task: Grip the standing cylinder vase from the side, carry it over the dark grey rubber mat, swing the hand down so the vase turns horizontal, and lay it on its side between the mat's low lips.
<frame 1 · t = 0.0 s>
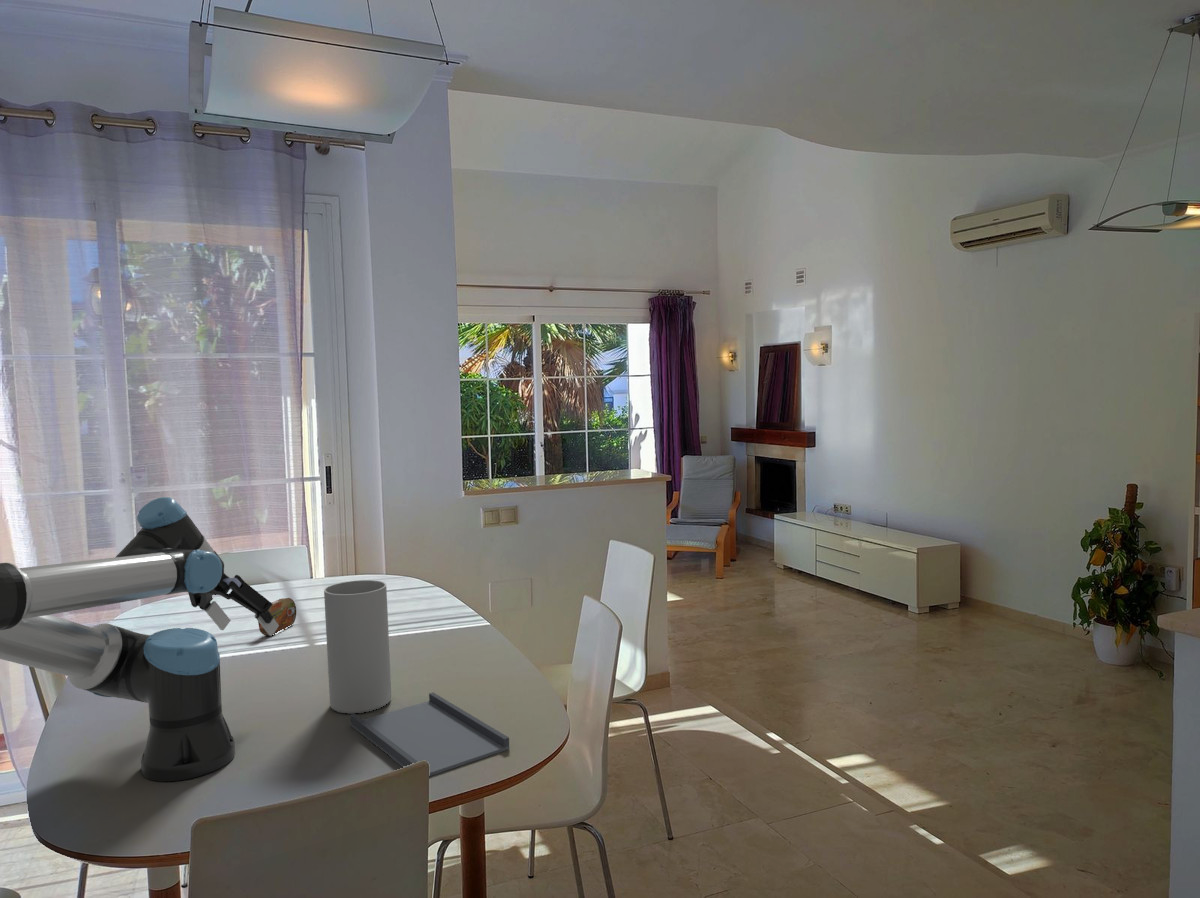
hand: (249, 627, 180), 15 cm above the table, tool tilted 35°, fingers open, 13 cm apart
tin: (278, 631, 231), on the table
cylinder vase: (361, 704, 176), on the table
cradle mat: (426, 737, 158), on the table
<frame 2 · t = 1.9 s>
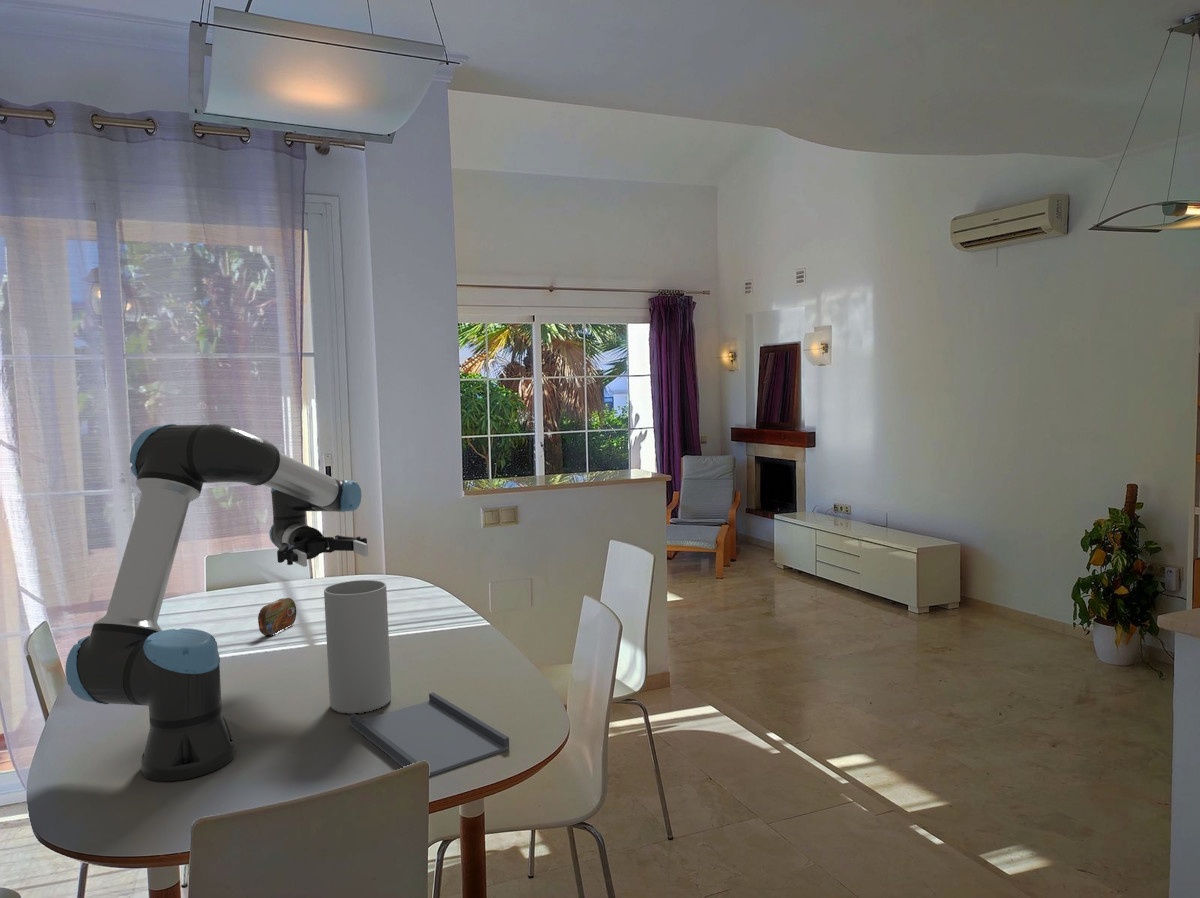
hand: (336, 555, 181), 30 cm above the table, tool horizontal, fingers open, 13 cm apart
nothing on the table moved.
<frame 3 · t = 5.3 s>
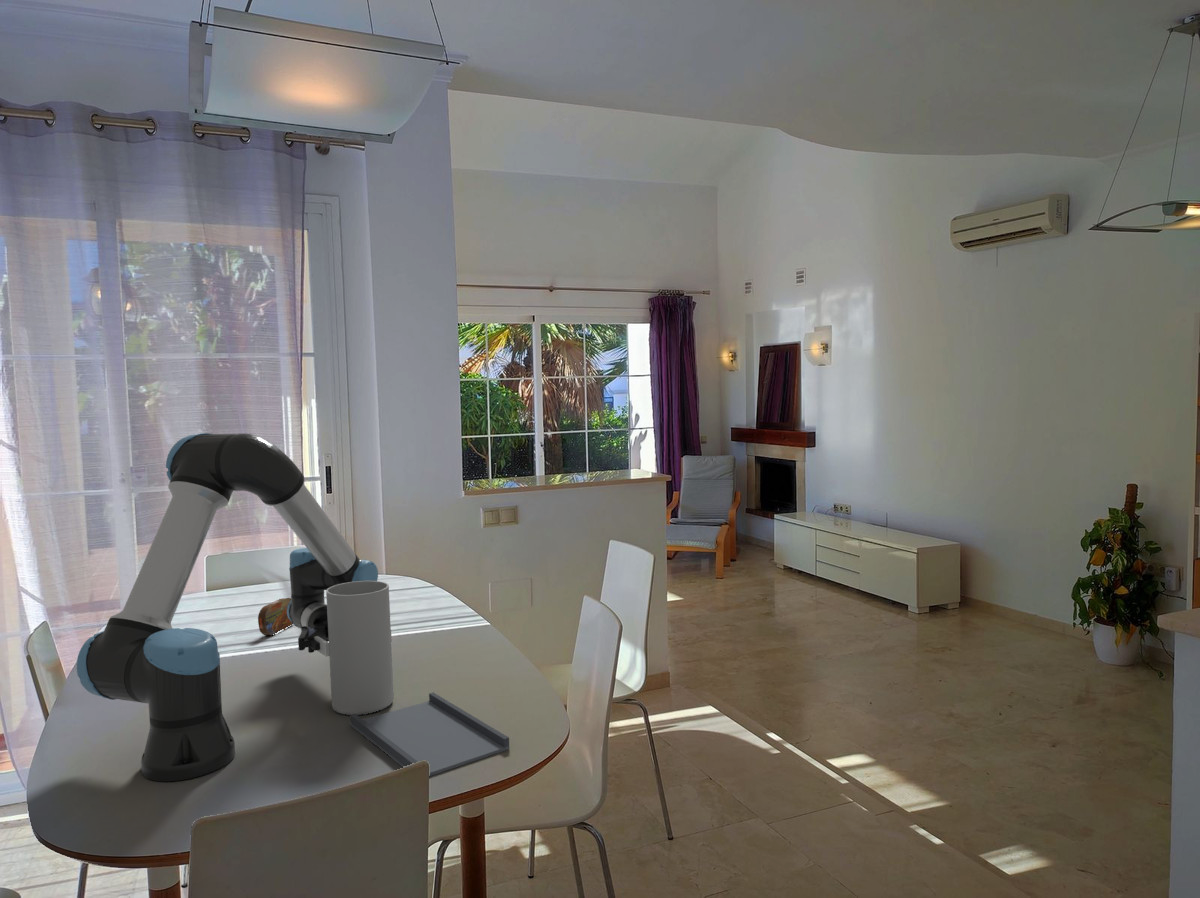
hand: (359, 642, 175), 13 cm above the table, tool horizontal, fingers open, 13 cm apart
cylinder vase: (363, 705, 175), on the table, touching gripper
everything else where it was.
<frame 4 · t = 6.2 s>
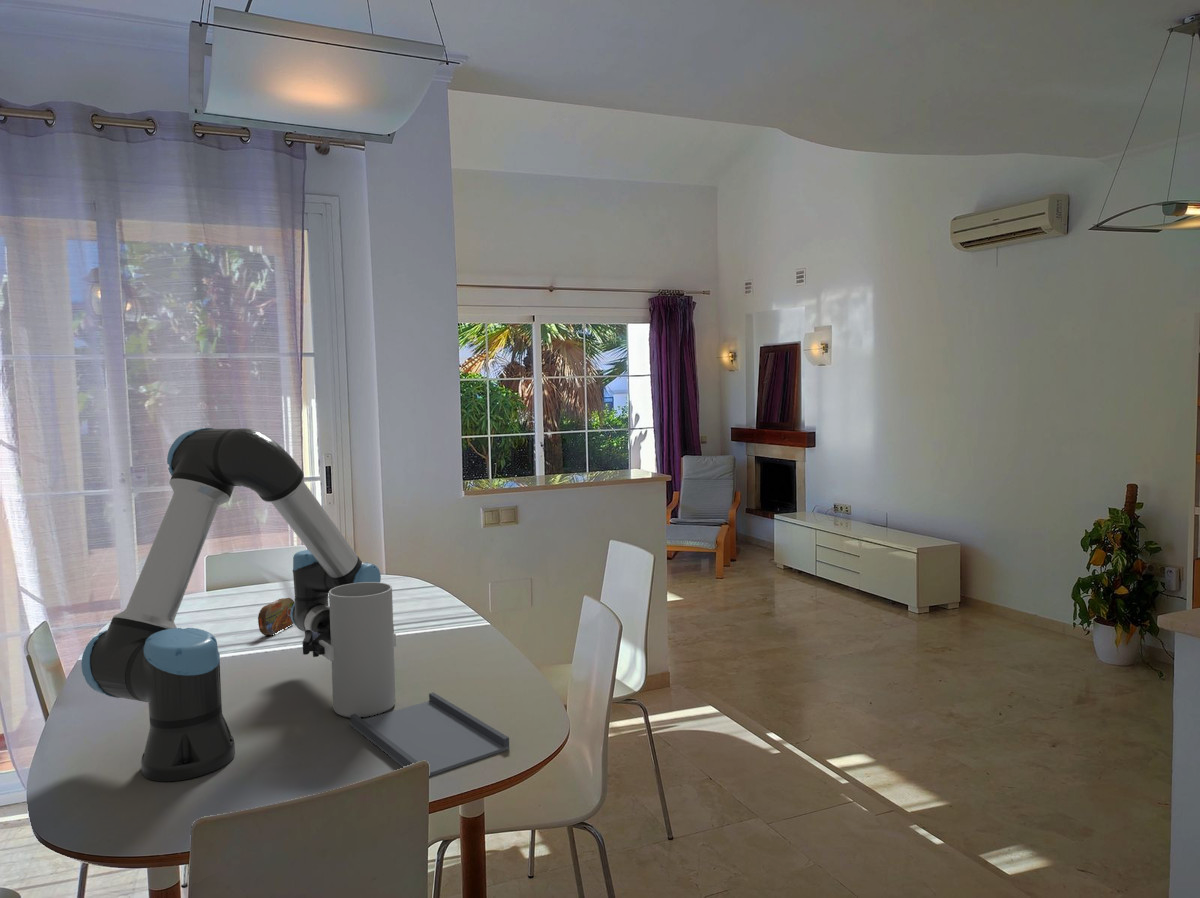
hand: (364, 647, 172), 13 cm above the table, tool horizontal, fingers closed on cylinder vase, 13 cm apart
cylinder vase: (364, 708, 173), on the table, touching gripper
everything else where it was.
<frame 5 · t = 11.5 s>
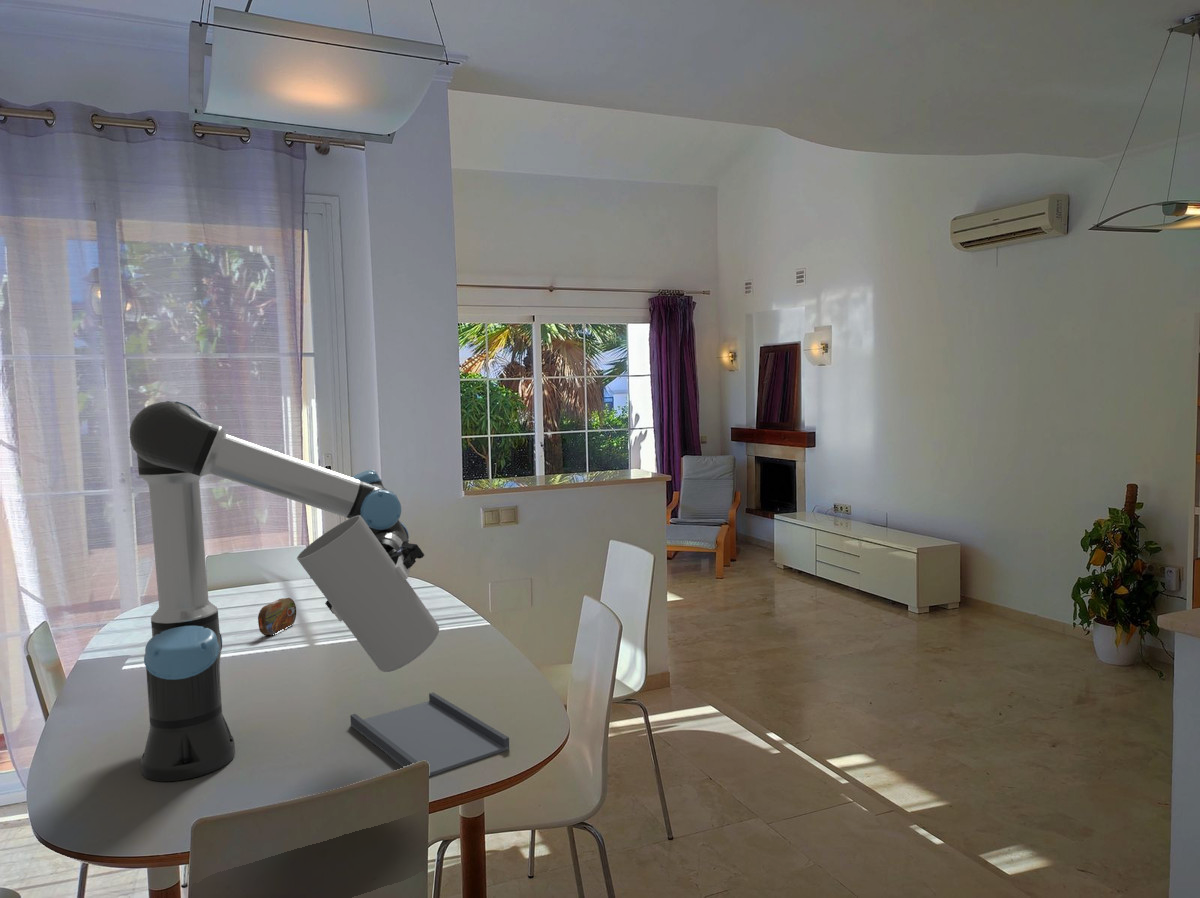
hand: (369, 593, 144), 31 cm above the table, tool horizontal, fingers closed on cylinder vase, 12 cm apart
cylinder vase: (411, 650, 148), point 20 cm above the table, touching gripper
everything else where it was.
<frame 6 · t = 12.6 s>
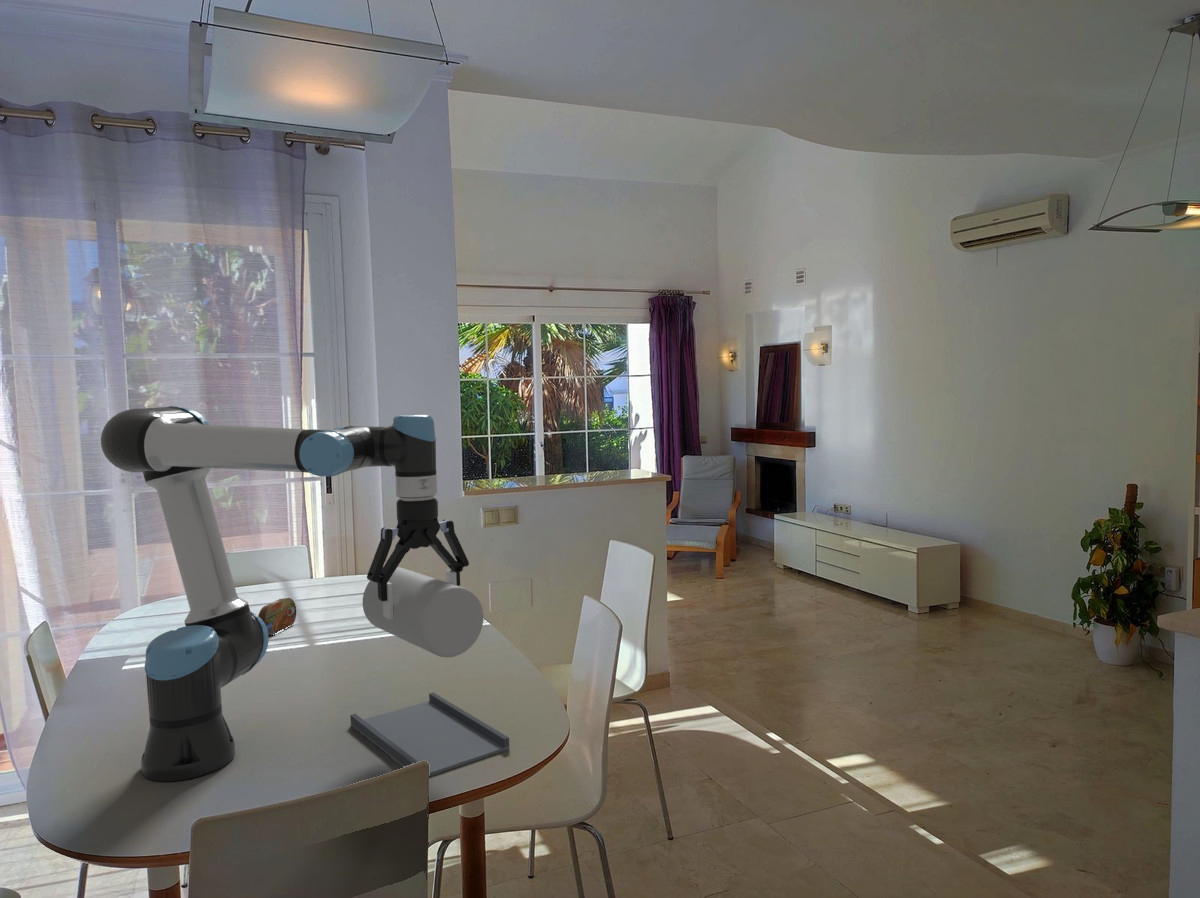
hand: (421, 611, 156), 24 cm above the table, tool pointing down, fingers closed on cylinder vase, 12 cm apart
cylinder vase: (455, 623, 147), point 25 cm above the table, touching gripper
everything else where it was.
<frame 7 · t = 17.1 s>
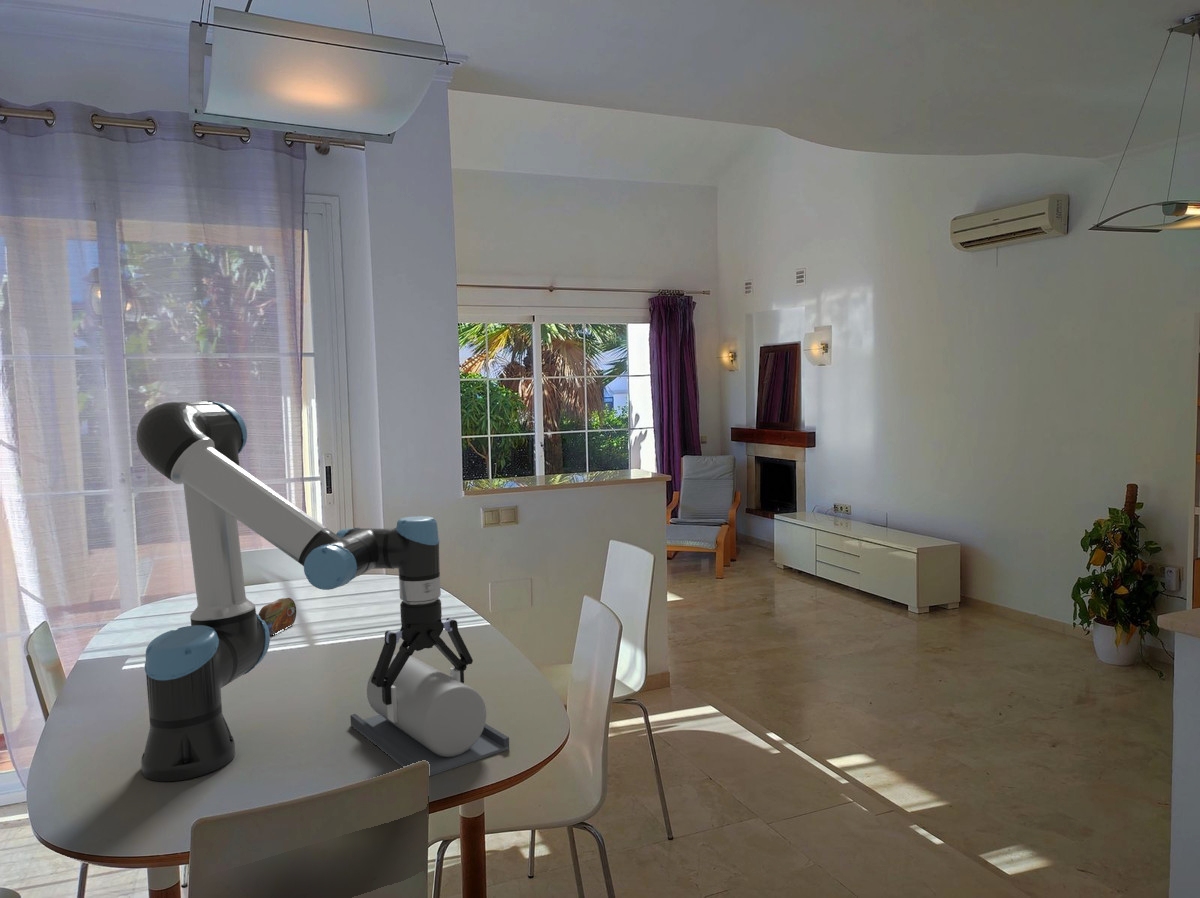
hand: (425, 711, 157), 5 cm above the table, tool pointing down, fingers closed on cylinder vase, 12 cm apart
cylinder vase: (458, 723, 147), point 7 cm above the table, touching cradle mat, gripper
everything else where it was.
when the fingers open (5 cm above the table, at t = 17.6 s): cylinder vase stays where it is, resting on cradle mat.
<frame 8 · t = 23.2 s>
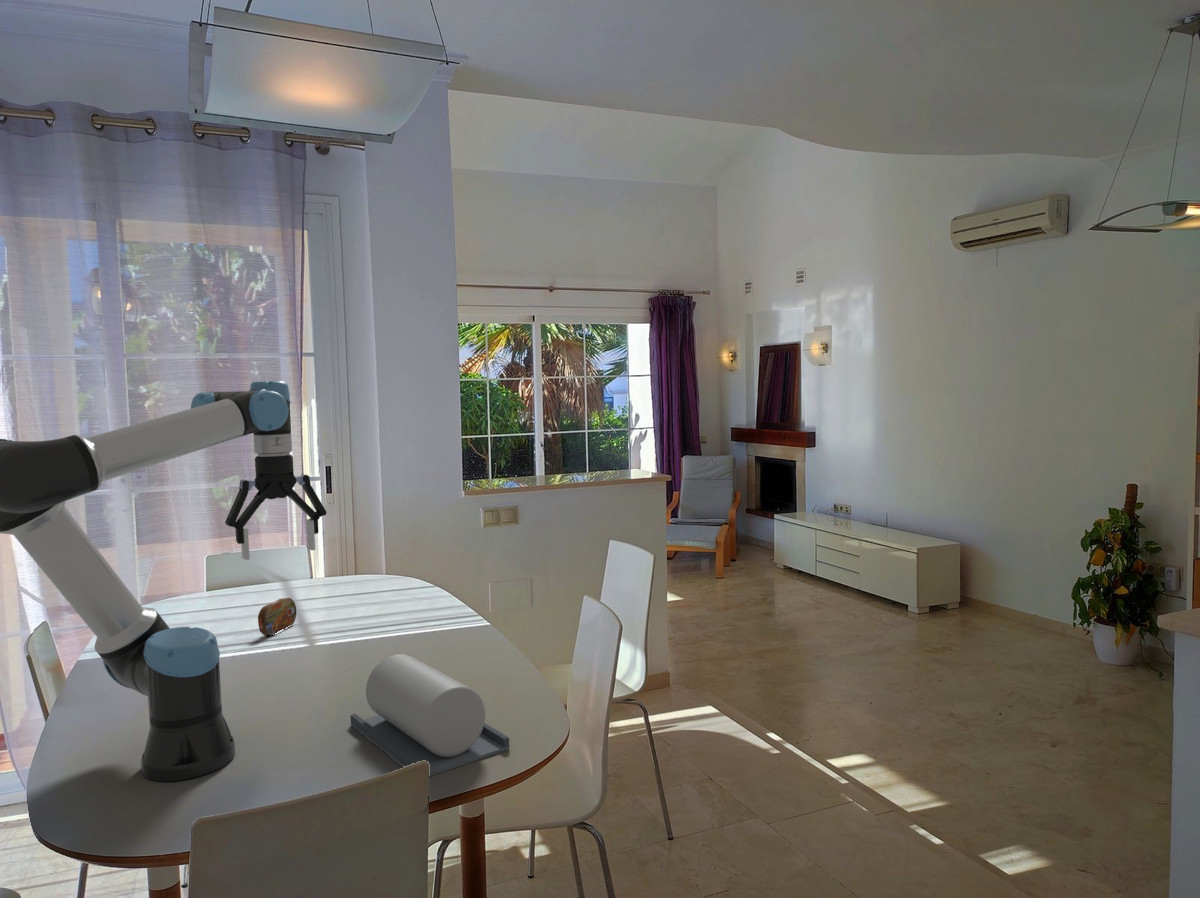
hand: (279, 554, 177), 32 cm above the table, tool pointing down, fingers open, 13 cm apart
cylinder vase: (457, 723, 147), point 7 cm above the table, touching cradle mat
everything else where it was.
at the end: cylinder vase tilted 90°; cylinder vase touching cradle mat; cylinder vase inside the target area on the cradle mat (13.1 cm from its centre), point 6.8 cm above the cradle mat's base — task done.
